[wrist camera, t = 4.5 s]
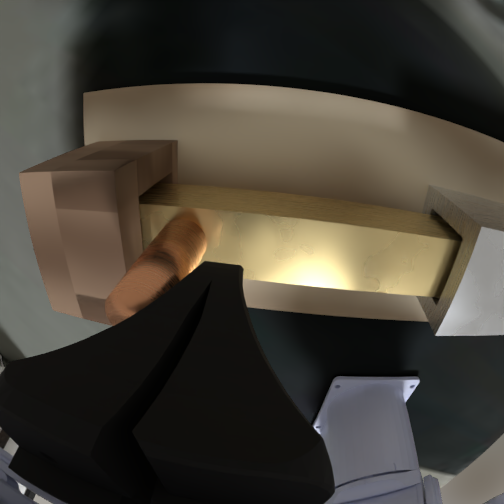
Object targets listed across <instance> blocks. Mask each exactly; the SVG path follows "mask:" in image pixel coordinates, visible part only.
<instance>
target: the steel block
mask: <svg viewBox="0 0 504 504" xmlns="http://www.w3.org/2000/svg"><path fill="white" fill-rule="evenodd" d="M422 213H423V214H428V215H434V216H439V217H442V218H443V219H444V220H445V221H446V222H447V223H448V224H450V225H451V226H452V227H453V228H454V229H455V230H456V231H457V232H458V233H459V234H460V235H461V236H462V237H463V241H462V243H461V246H460V249H459V252H458V255H457V257H456V260H455V263H454V265H453V268H452V270H451V273H450V276H449V278H448V280H447V283H446V285H445V288H444V290H443V292H442V295H441V297H426V296H416V297H417V299H418V301H419V303H420V305H421V307H422V309H423V311H424V313H425V315H426V317H427V319H428V321H429V323H430V325H431V328H432V330H433V332H434V334H435V336H476V335H504V204H502V203H499V202H495V201H492V200H488V199H485V198H481V197H478V196H474V195H470V194H466V193H462V192H459V191H455V190H451V189H446V188H442V187H438V186H434V185H429V186H428V191H427V195H426V199H425V203H424V207H423V211H422Z"/></svg>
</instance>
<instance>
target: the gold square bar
mask: <svg viewBox="0 0 504 504" xmlns="http://www.w3.org/2000/svg"><path fill="white" fill-rule="evenodd" d="M138 198H139V212H140V223H141V234H142V244H143V253H142V254H141V255H140V256H139V258H138V259H137V260H136V261H135V263H134V264H133V265H132V266H131V268H130V269H129V270H128V271H127V273H126V274H125V275H124V276H123V278H122V279H121V280H120V281H119V283H118V284H117V285H116V287H115V288H114V289H113V291H112V292H111V293H110V294H109V296H108V297H107V299H106V301H105V312H106V315H107V317H108V320H109V321H110V323H111V324H112V325H113V326H114V325H116V324H118V323H120V322H121V321H123V320H125V319H127V318H128V317H130V316H132V315H134V314H135V313H137V312H138V311H140V310H142V309H143V308H145V307H146V306H148V305H149V304H150V303H152V302H153V301H155V300H156V299H157V298H159V297H160V296H162V295H163V294H164V293H166V292H167V291H168V290H169V289H171V288H172V287H173V286H174V285H176V284H177V283H178V282H180V281H181V280H182V279H183V278H184V277H186V276H187V275H188V274H189V273H190V272H192V271H193V270H194V269H195V268H196V267H198V266H199V265H200V264H201V263H203V262H204V261H210V262H218V263H227V264H235V265H241V266H242V267H243V269H244V273H243V279H250V280H259V281H268V282H277V283H286V284H295V285H305V286H314V287H324V288H334V289H345V290H355V291H366V292H377V293H389V294H401V295H413V296H426V297H441V295H442V292H443V290H444V288H445V285H446V283H447V280H448V278H449V276H450V273H451V270H452V268H453V265H454V263H455V260H456V257H457V255H458V252H459V249H460V246H461V243H462V241H463V237H462V236H461V235H460V234H459V233H458V232H457V231H456V230H455V229H454V228H453V227H452V226H451V225H450V224H448V223H447V222H446V221H445V220H444V219H443V218H442V217H439V216H434V215H428V214H423V213H418V212H412V211H406V210H401V209H395V208H389V207H383V206H376V205H370V204H363V203H357V202H350V201H343V200H335V199H328V198H320V197H313V196H304V195H296V194H287V193H278V192H269V191H259V190H249V189H238V188H226V187H214V186H200V185H185V184H168V183H156V184H155V185H153V186H152V187H151V188H149V189H148V190H147V191H145V192H144V193H143V194H141V195H140V196H139V197H138Z"/></svg>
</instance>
